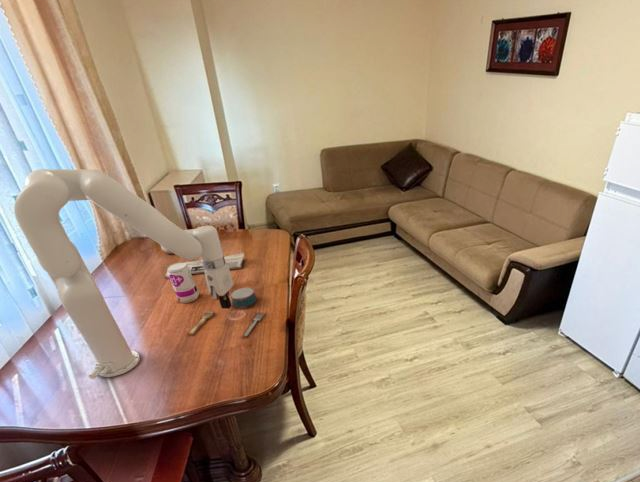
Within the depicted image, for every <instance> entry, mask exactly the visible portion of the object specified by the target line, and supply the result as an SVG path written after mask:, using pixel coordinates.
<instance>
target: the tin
mask: <svg viewBox="0 0 640 482" xmlns="http://www.w3.org/2000/svg"><path fill="white" fill-rule="evenodd" d="M230 298H231V301H232V304H233V306H234V308H236V309H239V310H241V309H247V308H250V307H253V306H255V304H256V303H257V297H256V293H255V290H254V289H253V288H251V287H241V288H238V289H235V290H233V291H232V292H231V294H230Z"/></svg>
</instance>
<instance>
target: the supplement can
mask: <svg viewBox="0 0 640 482" xmlns="http://www.w3.org/2000/svg"><path fill="white" fill-rule="evenodd" d="M166 273H168V276H169V277H168V278H169V281H170V284H171V285H172V288H173V291H174V293H175V295H176V298H177V300H178V302H180V303H182V304H188V303H192V302H194V301H196V300H197V299H198V297H199V296H200V293H199V291H198V288H197V285H196V283H195V280H194V277H193V274H191V271H190V269H189V267H188V266H187V265H186V264H185V262H176V263H172V264H170V265H169V266H167V272H166Z"/></svg>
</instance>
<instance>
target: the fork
mask: <svg viewBox="0 0 640 482" xmlns="http://www.w3.org/2000/svg"><path fill="white" fill-rule="evenodd" d="M264 316H265V313H263V314H262V313H261V314H260V313H257V314H256V315H255V317H254V318H253V320H252V321H253V322H252V323H251V325H250V326H249V327H248V328H247V330H246V331H245V333H244V334H243V337H244V338H247V337H248V336H249V335H250V334H251V332H252V330H254V329H255V327H256V324H257V323H258V322H260V321H261V320H262V319H263V317H264Z"/></svg>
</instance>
